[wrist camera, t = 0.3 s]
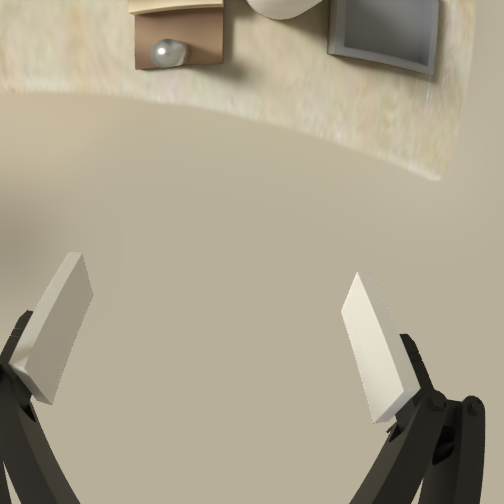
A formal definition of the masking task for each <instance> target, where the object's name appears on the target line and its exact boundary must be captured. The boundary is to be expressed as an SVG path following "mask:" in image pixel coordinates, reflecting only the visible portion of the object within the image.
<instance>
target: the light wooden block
mask: <svg viewBox="0 0 504 504" xmlns="http://www.w3.org/2000/svg"><path fill="white" fill-rule="evenodd" d="M223 3H224V0H128V13H130V14H133V15H138V14H144V13H151V12H159V11H168V10H178V9H190V8H207V7H223Z"/></svg>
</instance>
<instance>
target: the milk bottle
mask: <svg viewBox="0 0 504 504" xmlns="http://www.w3.org/2000/svg"><path fill="white" fill-rule="evenodd" d="M321 1H322V0H247V2H248V4H249V5H250V6H251V7H252V9H254V10H255V11H256V12H257V13H259V14H261V15H263V16H265V17H268V18H271V19H279V20H283V19H290V18H293V17H296V16H298V15H300V14H302V13H304V12H305V11H307V10H308V9H310V8H312V7H313V6H315V5H316V4H318V3H320V2H321Z"/></svg>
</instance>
